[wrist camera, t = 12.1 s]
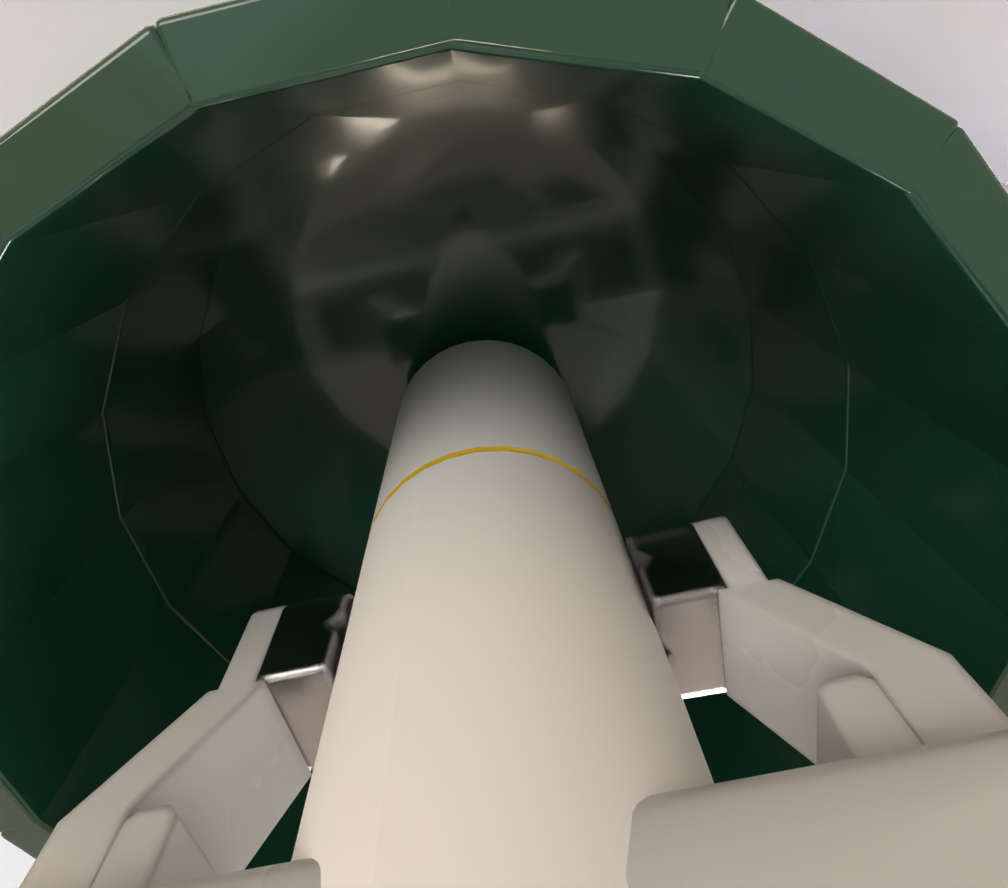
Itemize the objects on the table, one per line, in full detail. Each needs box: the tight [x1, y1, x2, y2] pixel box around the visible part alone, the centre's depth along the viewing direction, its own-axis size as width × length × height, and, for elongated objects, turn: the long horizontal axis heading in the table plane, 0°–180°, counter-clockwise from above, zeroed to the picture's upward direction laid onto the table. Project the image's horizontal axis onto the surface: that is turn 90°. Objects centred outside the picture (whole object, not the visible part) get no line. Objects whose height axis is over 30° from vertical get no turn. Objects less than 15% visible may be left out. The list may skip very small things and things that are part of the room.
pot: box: [0, 0, 1008, 870], centre depth 13 cm, size 15×15×10 cm
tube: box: [291, 340, 714, 888], centre depth 9 cm, size 4×4×15 cm
